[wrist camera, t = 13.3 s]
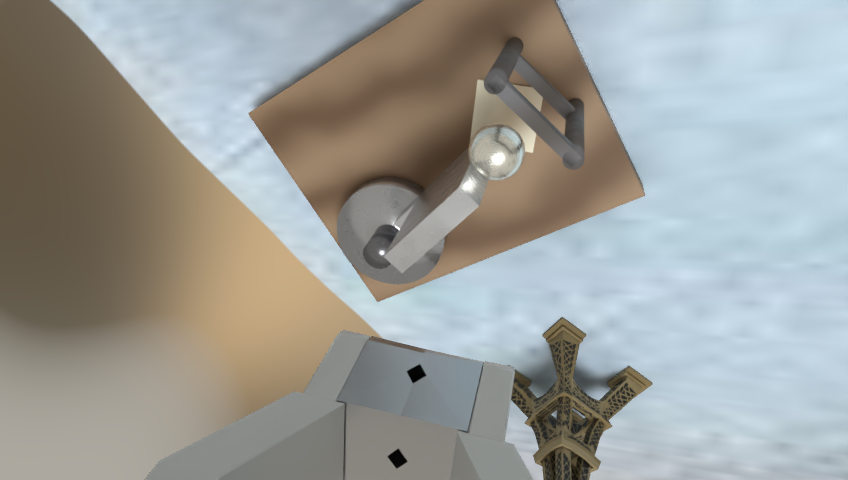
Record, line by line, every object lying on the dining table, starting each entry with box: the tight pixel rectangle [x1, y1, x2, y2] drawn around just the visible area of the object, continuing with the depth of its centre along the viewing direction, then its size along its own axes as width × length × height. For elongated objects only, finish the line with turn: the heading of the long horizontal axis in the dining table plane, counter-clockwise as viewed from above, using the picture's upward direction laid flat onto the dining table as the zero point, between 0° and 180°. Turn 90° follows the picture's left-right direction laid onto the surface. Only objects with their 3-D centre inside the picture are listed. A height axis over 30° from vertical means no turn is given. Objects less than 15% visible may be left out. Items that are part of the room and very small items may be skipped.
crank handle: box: [337, 123, 525, 284], centre depth 42 cm, size 20×9×12 cm, turn 138°
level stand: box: [248, 0, 645, 302], centre depth 42 cm, size 20×25×13 cm
